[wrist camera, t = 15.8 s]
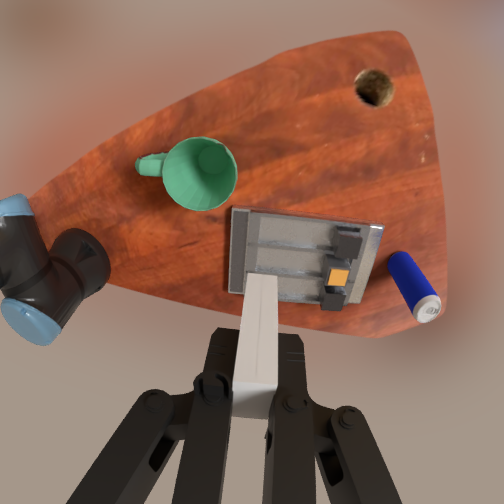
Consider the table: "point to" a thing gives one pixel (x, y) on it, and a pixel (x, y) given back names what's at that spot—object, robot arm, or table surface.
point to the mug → (194, 172)
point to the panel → (301, 253)
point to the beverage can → (414, 287)
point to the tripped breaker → (335, 271)
